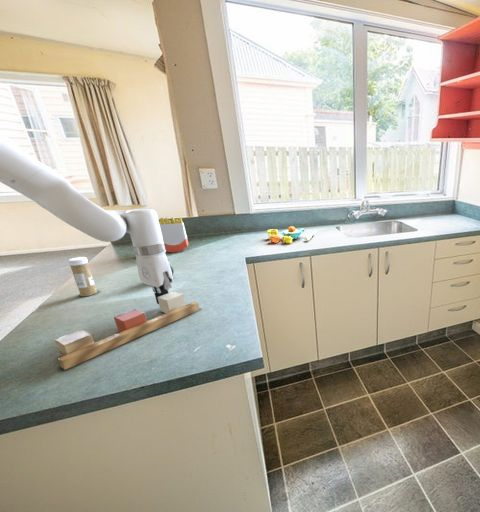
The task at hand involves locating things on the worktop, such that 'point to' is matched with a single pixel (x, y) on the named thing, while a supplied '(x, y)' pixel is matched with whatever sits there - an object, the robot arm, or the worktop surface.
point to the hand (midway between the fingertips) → (163, 302)
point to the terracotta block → (129, 320)
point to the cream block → (171, 301)
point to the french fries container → (173, 234)
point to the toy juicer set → (287, 235)
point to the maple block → (73, 342)
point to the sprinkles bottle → (82, 276)
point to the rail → (125, 336)
